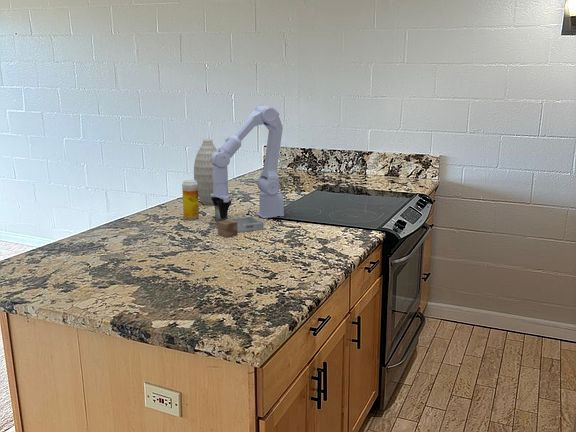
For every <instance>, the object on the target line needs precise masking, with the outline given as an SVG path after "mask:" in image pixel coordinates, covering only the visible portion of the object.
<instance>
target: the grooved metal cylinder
mask: <svg viewBox="0 0 576 432" xmlns="http://www.w3.org/2000/svg"><path fill="white" fill-rule="evenodd" d="M214 214H215V216H214V218H215V220H214V221H215V222H217V223H218V222H219V221H223V220H226V219H229V218H228V215H227V217H226V218H222V219H221V217H220V212H219V207H218V205H215V207H214Z"/></svg>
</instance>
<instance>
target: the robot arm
mask: <svg viewBox="0 0 576 432" xmlns="http://www.w3.org/2000/svg"><path fill="white" fill-rule="evenodd" d="M260 125H262V126H263V125H264V126H265V128H266V129H267V130H268V136H267V142H266V150H265V158H264V164H263V170H261V172H260V177H259V178H258V179H257V181H256V182H257V183H256V185H257V186H256V187H257V188H258V190H259V212H255V214H256V215H257V216H259V217H260V218H262V219H270V218H278V217H277V216H280V217H285V214H284V213H285V211H284V207H285V204H284V203H285V201H284V196H283V193H280V192H279V191H280V187H281V185H280V182H279V180H280V176H279V174H278V165H279V158H280V150H281V149H280V148H281V144H282V137H283V136H282V135H283V129H284V128H283V127H284V126H283V124H282V122H281V118H280V113H279V111H278V110H277V109H276V108H274V107H273V106H271V105H269V106H268V105H264V104H260V105H257V106H256V107H255V108H254V110H252V111H251V112H250V114H249V116H248V117H247V118H246V120H244V122H243V124H242V125H241V127H239V129H238V130H237V132H236V133H235V134H234V135H230V136H228V137H227V136H226V138H224V140H225V141H224V142H223V144H221V146H220V147H218V148H216V149H217V152H214V153H213V154H212V156H211V158H210V160H211V163H212V164H213V194H210V195H211V196H212V197H211V200H212V201H213V206H214V208H215V205H218V207H219V212H220V217H221V219H222V218H226V217H227V216H228V213H229V212H228V211H229V208H230V206H231V204H232V200H230V196H229V178H228V177H229V171H228V170H229V169H228V166H229V164H230V163H231V159H232V158H233V156H234V155H235V154H236V153H237V151H238V150H239V149H240V148H241V147H242V141H243V140H244V139H245V137H247V136H248V134H249V133H250V132H251V131H253V129H254V128H255V127H258V126H260ZM213 196H214V197H213Z"/></svg>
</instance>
